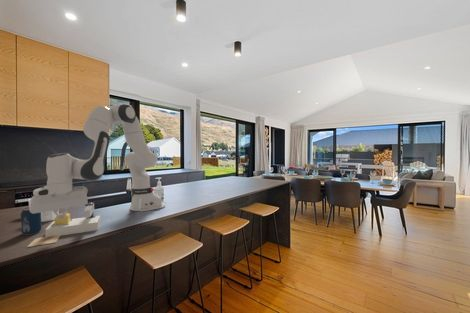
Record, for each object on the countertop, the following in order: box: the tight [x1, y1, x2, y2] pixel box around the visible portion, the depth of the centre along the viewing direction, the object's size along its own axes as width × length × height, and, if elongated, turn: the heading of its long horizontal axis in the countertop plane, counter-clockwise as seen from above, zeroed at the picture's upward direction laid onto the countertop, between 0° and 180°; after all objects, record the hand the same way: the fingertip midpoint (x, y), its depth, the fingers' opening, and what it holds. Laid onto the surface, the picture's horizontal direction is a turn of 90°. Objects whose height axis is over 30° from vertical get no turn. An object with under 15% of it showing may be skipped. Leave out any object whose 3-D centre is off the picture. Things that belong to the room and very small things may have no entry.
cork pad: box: [27, 235, 61, 248], centre depth 91 cm, size 9×9×1 cm
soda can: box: [20, 206, 42, 236], centre depth 100 cm, size 7×7×12 cm
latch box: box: [44, 215, 101, 237], centre depth 104 cm, size 20×12×5 cm, turn 118°
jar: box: [41, 209, 60, 223], centre depth 119 cm, size 9×8×12 cm
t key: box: [83, 202, 95, 218], centre depth 106 cm, size 3×15×7 cm, turn 28°
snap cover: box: [54, 212, 71, 225], centre depth 101 cm, size 5×5×5 cm
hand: (61, 218), depth 95 cm, fingers closed
